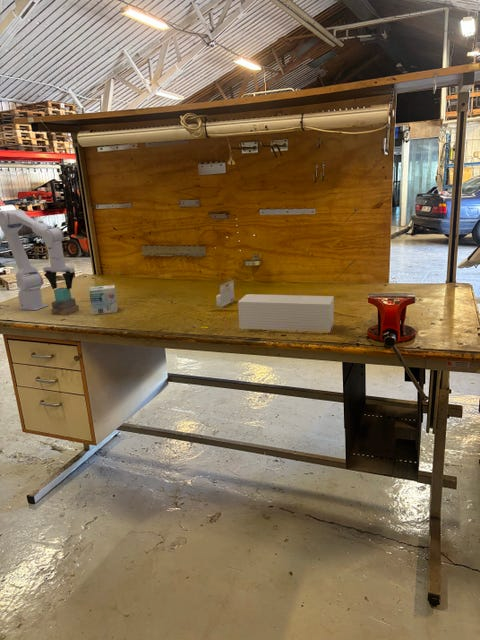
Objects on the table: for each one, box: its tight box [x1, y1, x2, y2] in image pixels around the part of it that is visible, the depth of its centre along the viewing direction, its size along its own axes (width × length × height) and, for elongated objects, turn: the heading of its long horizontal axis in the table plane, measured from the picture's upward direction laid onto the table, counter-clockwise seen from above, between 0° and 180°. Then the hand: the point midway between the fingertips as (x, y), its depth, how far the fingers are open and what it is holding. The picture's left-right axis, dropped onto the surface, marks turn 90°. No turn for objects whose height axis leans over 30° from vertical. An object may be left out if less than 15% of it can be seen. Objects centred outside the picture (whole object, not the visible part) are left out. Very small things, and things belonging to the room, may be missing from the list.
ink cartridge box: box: [215, 279, 236, 308], centre depth 195 cm, size 2×11×10 cm, turn 149°
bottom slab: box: [50, 304, 80, 316], centre depth 196 cm, size 8×8×3 cm
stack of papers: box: [237, 293, 335, 332], centre depth 160 cm, size 32×11×11 cm, turn 73°
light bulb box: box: [88, 284, 119, 316], centre depth 193 cm, size 11×7×11 cm, turn 105°
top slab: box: [51, 297, 77, 309], centre depth 196 cm, size 7×7×3 cm
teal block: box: [53, 287, 72, 302], centre depth 195 cm, size 5×5×5 cm
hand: (62, 288), depth 195 cm, fingers open, 7 cm apart
